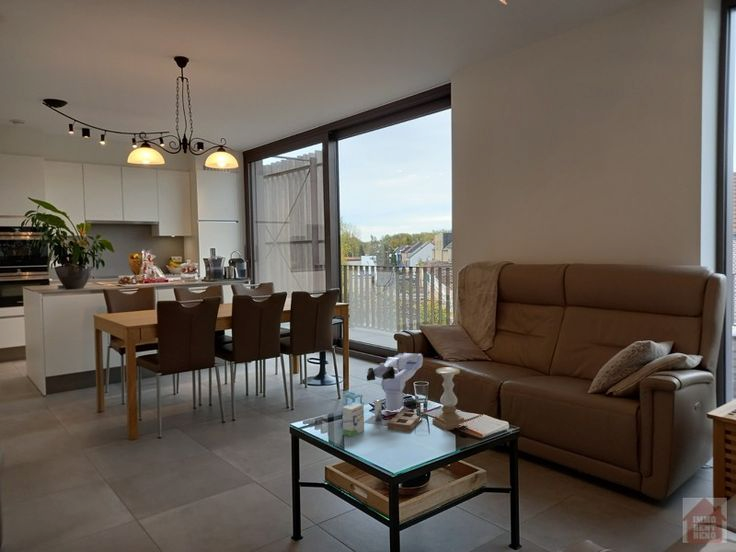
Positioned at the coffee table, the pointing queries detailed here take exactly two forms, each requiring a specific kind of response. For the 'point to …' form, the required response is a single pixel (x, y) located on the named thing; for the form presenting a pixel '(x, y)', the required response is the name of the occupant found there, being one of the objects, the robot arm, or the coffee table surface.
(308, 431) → the coffee table surface
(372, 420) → the mat
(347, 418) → the ink box
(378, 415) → the peg
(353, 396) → the chair
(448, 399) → the candle holder
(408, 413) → the block
